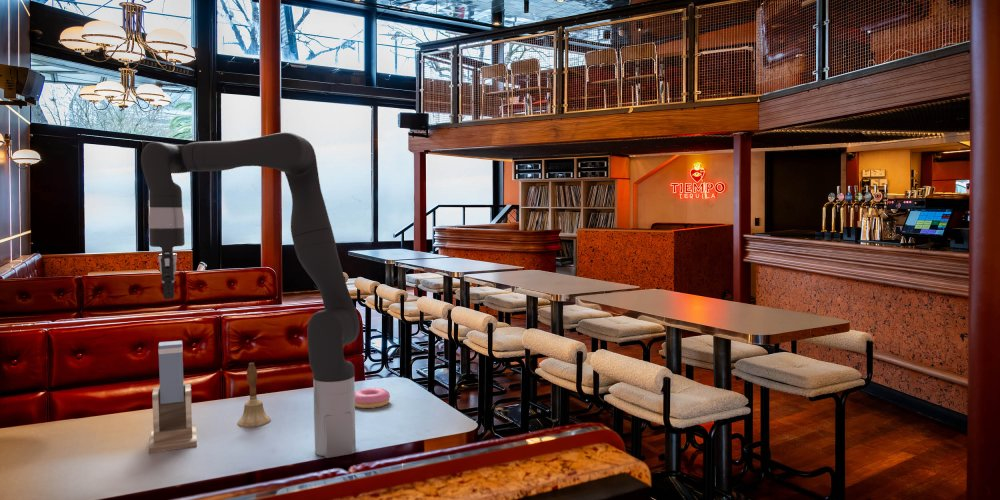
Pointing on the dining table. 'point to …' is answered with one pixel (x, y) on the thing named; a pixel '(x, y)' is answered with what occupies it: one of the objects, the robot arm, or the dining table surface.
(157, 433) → the tan frame
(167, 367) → the block
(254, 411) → the hand bell
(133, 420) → the dining table surface
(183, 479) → the dining table surface
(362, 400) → the doughnut
